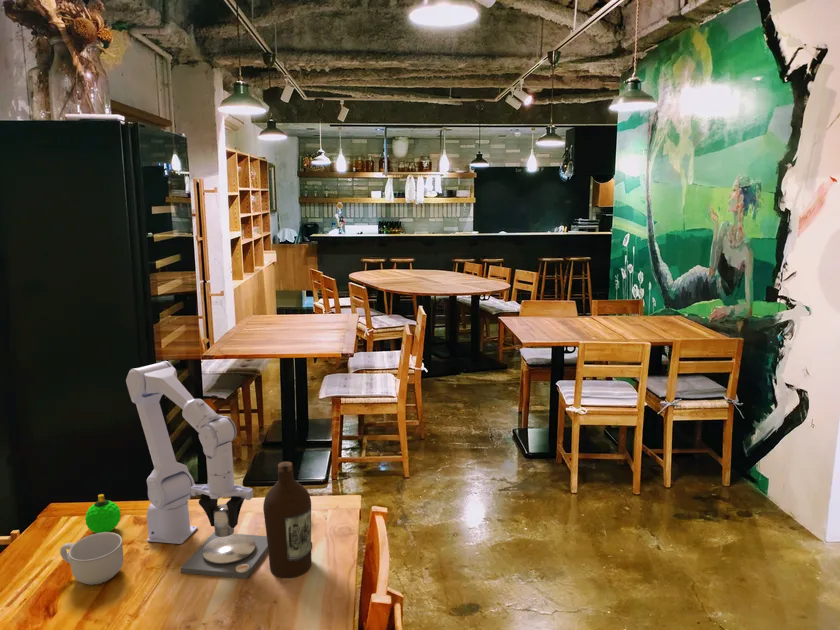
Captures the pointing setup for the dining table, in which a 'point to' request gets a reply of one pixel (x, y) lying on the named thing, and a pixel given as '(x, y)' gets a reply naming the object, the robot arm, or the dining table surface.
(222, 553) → the scale pan
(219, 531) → the cylinder
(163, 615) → the dining table surface
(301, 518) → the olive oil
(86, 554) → the teacup
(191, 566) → the scale base
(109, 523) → the ornament
